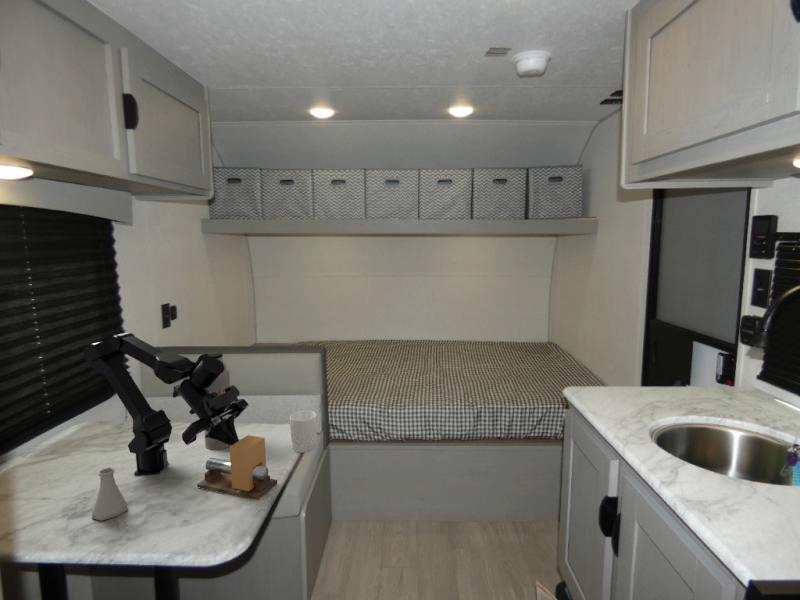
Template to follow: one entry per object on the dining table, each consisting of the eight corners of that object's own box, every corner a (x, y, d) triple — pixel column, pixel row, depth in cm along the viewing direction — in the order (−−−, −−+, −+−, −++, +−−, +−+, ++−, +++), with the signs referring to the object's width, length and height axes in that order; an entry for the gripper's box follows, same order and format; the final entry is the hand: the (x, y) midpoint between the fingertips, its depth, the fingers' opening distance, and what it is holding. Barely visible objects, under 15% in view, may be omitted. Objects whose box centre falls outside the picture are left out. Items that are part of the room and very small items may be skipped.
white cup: (291, 455, 133) (289, 422, 132) (290, 444, 141) (288, 412, 139) (319, 451, 135) (317, 419, 134) (316, 440, 143) (315, 409, 141)
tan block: (231, 487, 113) (229, 446, 112) (250, 474, 120) (247, 435, 118) (249, 491, 111) (246, 449, 110) (266, 477, 118) (264, 437, 117)
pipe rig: (197, 487, 116) (195, 464, 115) (219, 472, 123) (217, 450, 123) (258, 500, 110) (256, 475, 109) (277, 483, 118) (276, 460, 117)
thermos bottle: (238, 442, 142) (233, 353, 138) (214, 452, 136) (208, 358, 132) (223, 436, 147) (218, 349, 143) (200, 445, 140) (194, 354, 137)
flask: (121, 499, 111) (117, 460, 110) (133, 510, 107) (130, 469, 105) (86, 513, 106) (82, 471, 104) (97, 525, 101) (93, 482, 100)
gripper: (188, 390, 106) (230, 442, 104) (240, 368, 124) (278, 413, 121) (163, 419, 110) (204, 470, 107) (218, 394, 127) (254, 438, 125)
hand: (238, 446), depth 115 cm, fingers closed
